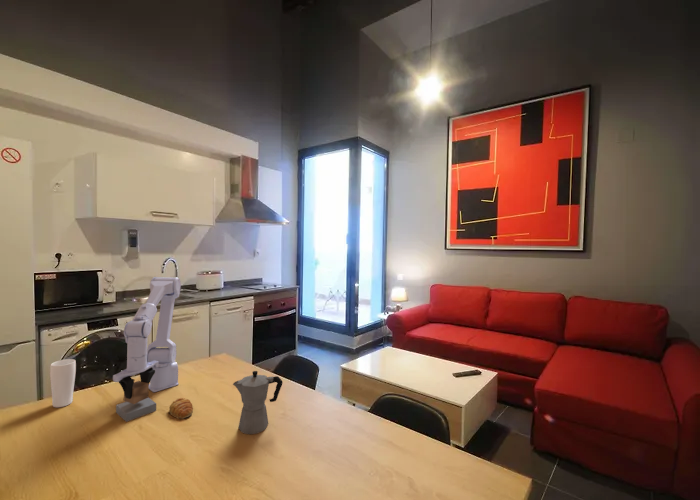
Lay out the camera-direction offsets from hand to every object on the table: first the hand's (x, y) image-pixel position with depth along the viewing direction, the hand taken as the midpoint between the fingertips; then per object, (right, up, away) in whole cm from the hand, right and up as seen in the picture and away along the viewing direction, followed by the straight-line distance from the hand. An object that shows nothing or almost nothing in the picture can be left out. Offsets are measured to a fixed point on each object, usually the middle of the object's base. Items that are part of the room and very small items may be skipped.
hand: (136, 394), depth 109 cm
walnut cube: (0, -2, 0) cm, 2 cm away
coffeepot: (+43, -8, -6) cm, 44 cm away
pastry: (+15, -7, +1) cm, 17 cm away
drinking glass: (-28, -5, +3) cm, 29 cm away
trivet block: (0, -6, 0) cm, 6 cm away
